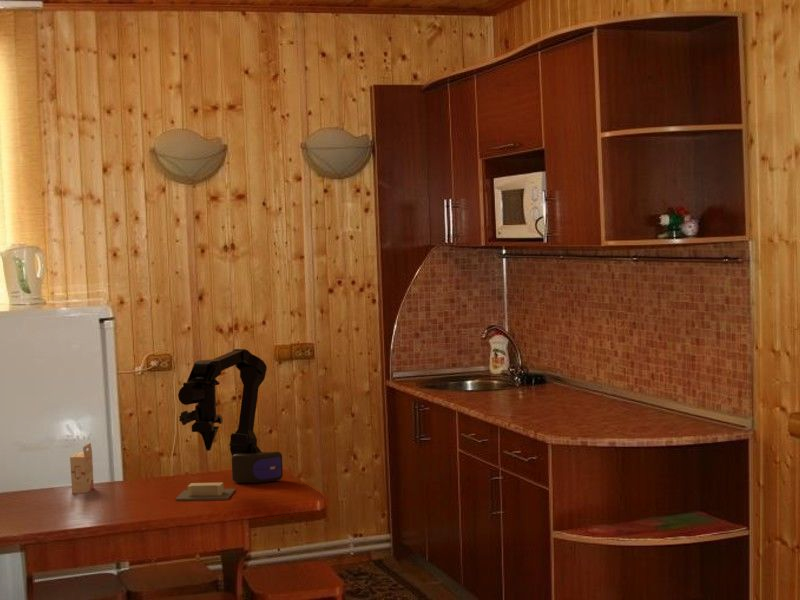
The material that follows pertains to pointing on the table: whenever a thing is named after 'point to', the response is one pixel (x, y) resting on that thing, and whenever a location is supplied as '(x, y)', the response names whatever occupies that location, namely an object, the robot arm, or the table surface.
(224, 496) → the mat
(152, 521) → the table surface
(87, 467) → the ink cartridge box
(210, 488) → the block
